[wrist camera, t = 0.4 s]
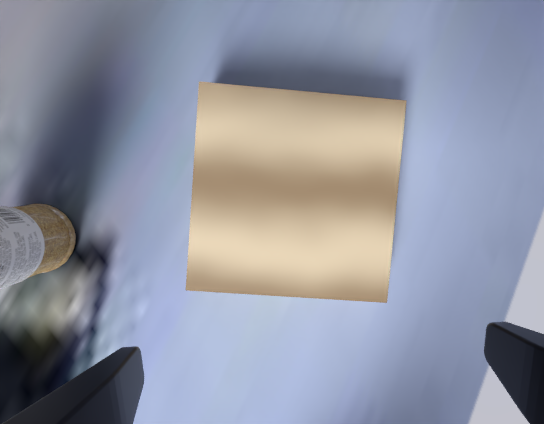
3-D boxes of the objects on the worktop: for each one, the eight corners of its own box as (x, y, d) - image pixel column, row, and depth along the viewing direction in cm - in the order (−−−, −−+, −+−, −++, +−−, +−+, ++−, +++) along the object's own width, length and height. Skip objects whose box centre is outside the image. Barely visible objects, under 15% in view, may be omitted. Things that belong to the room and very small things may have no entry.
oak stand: (370, 288, 23) (386, 302, 20) (195, 277, 23) (185, 290, 20) (386, 112, 22) (406, 100, 19) (206, 96, 22) (198, 81, 19)
